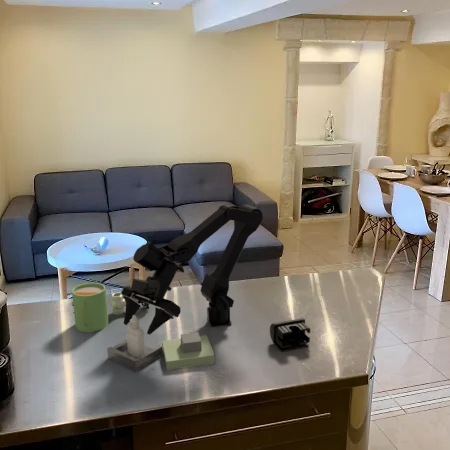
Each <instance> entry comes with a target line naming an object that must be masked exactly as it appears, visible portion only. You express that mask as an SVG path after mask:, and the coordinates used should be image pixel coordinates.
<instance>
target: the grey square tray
mask: <svg viewBox="0 0 450 450" xmlns="http://www.w3.org/2000/svg"><path fill="white" fill-rule="evenodd" d="M106 350H107V358H108V359H110V360H111V361H114V362H115V363H117V364H120V365H121V366H124V367H126V368H127V369H130V370H131V371H133V372H138V371H139V370H140V369H142V368H143V367H145V366H146V365H148V364H150V363H151V362H153V361H154V360H156V359H157V358H159V357H161V356H162V355H164V354H163V349H162V345H160V344H158V345H157V346H156V347H154V348H152V347H150V346H147V345H145V354H144V355H142V356H140V357H139V358H135V357H132V356H131V355H130V354H129V353H128V348H127V339H125V340H123V341H121V342H120V343H118V344H116V345H114V346H110V347H107V349H106Z"/></svg>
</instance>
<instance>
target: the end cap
mask: <svg viewBox="0 0 450 450" xmlns="http://www.w3.org/2000/svg"><path fill="white" fill-rule="evenodd" d="M306 332H307V333H306ZM269 334H270V335H269V336H270V339H271V341H272V343H273V344H274V346H275V347H276V348H277V350H279V352H281V353H283V352H284V353H285V352H289V351H293V350H299V349H303V348H304V349H305V348H309V347H310V344H309V343H310V341H311V337H310V336H309V334H311V328H310V327H309V326H308V325H307V324H306V318H303V317H302V318H301V317H300V318H296V319H290V320H284V321H280V322H274V323H271V324H270V326H269Z"/></svg>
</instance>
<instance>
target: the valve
mask: <svg viewBox="0 0 450 450" xmlns="http://www.w3.org/2000/svg"><path fill="white" fill-rule="evenodd" d="M123 296H124V295H122V294H121V292H120V291H119V292H114V293H112V294H111V301H110V302H111V303H110V304H111V307H112V314H114V315H115V316H121V315H122V314H124V313H125V307H126V302H125V299H124V298H123ZM139 305H141V307H144V309H145V310H150V304H148V303H145V302H141V303H140V304H139ZM123 312H124V313H123Z"/></svg>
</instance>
